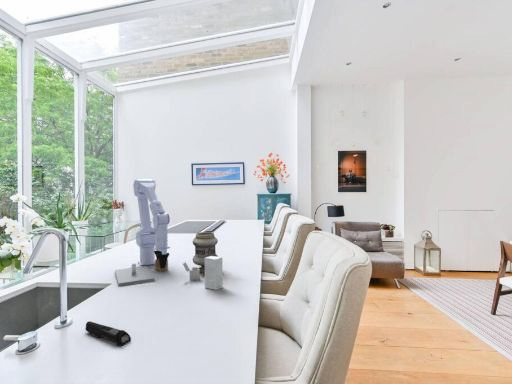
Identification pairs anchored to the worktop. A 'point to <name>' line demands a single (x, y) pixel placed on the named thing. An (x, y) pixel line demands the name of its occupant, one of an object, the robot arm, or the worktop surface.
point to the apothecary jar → (204, 248)
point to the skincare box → (213, 272)
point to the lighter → (193, 272)
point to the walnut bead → (157, 266)
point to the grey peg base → (133, 275)
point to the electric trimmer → (108, 333)
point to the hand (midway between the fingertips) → (161, 266)
